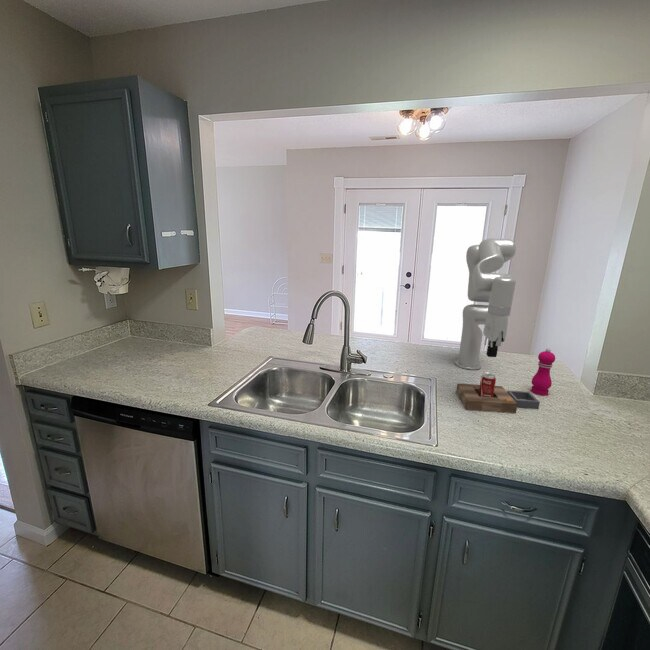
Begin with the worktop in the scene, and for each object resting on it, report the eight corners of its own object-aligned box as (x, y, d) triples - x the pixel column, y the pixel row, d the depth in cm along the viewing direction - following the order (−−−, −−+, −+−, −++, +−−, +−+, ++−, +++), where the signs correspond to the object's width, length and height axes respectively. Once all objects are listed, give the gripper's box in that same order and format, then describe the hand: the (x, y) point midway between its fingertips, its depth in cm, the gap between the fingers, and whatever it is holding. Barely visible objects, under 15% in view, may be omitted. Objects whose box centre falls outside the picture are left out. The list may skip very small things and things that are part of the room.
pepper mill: (525, 389, 147) (534, 346, 142) (537, 387, 150) (546, 344, 144) (541, 397, 141) (550, 352, 135) (553, 394, 143) (563, 350, 138)
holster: (506, 397, 140) (507, 390, 139) (527, 398, 139) (529, 391, 139) (515, 407, 132) (516, 400, 131) (538, 408, 131) (539, 401, 130)
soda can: (479, 397, 139) (483, 370, 136) (493, 401, 136) (497, 374, 133) (475, 402, 135) (480, 375, 132) (490, 406, 132) (494, 378, 129)
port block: (456, 392, 144) (457, 382, 143) (500, 394, 142) (501, 385, 141) (466, 409, 129) (468, 399, 128) (515, 413, 128) (517, 403, 127)
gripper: (481, 305, 133) (475, 348, 138) (496, 315, 119) (488, 363, 124) (501, 305, 132) (494, 349, 138) (518, 316, 118) (509, 364, 123)
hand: (491, 356), depth 131 cm, fingers closed
